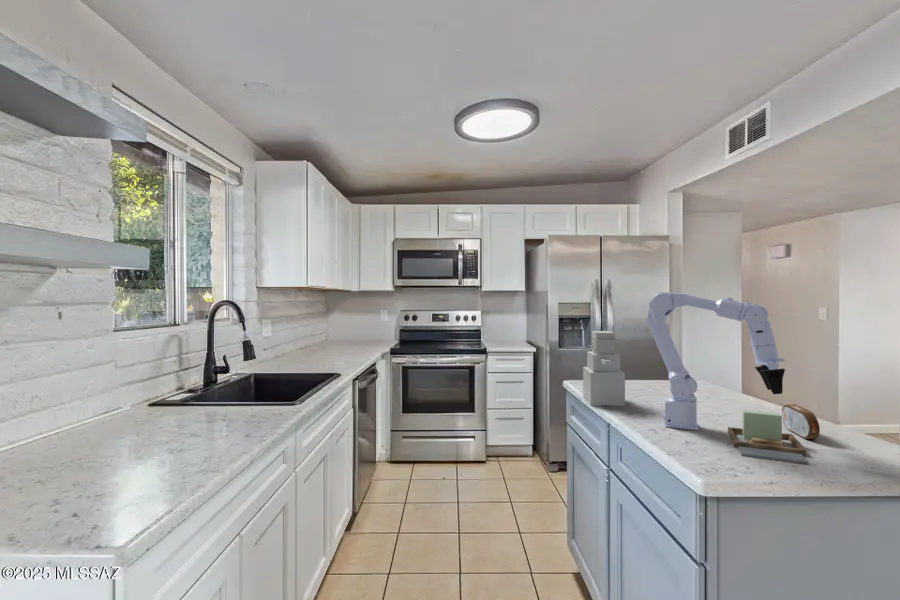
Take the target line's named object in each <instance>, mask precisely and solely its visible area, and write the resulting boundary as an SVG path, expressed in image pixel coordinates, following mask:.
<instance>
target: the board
mask: <svg viewBox="0 0 900 600" xmlns="http://www.w3.org/2000/svg"><path fill="white" fill-rule="evenodd" d="M782 423H783V415H782V414H780V413H778V412H767V411H756V410H745V409H743V410H742V429H743V434H742V439H744V440H751V437H754V438H762V439H771V440H780V441H782V440H783V439H782V433H783V426H782V425H783V424H782ZM782 442H783V441H782Z"/></svg>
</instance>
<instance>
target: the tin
mask: <svg viewBox="0 0 900 600" xmlns="http://www.w3.org/2000/svg"><path fill="white" fill-rule="evenodd" d="M781 411H782V412H781V413H782V414H781V416H782V423H783V424H784V426H785V428H786V429H787V430H788V431H789V430H790V431H789V432H791V433H793V434H795V435H796V434H797V435H796V436H798V437H800V438H801V439H804V440H817V439H818V438H819V436H820V432H821V429H820V423H819V420H818V418H817V417H816V414H815V413H813V411H811V410H810V409H808V408H805V407H802V406H801V405H798V404H796V403H793V404H785V405H784V406H783V407H782V408H781Z"/></svg>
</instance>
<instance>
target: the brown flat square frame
mask: <svg viewBox="0 0 900 600" xmlns="http://www.w3.org/2000/svg"><path fill="white" fill-rule="evenodd" d="M727 434H728V437H729V438H730V441H731V444H732V446H733V448H737V449H739V448H738V446H741V447H749V448H757V449H765V450H773V451H781V452H789V453H797V454H802V455H803V456H804V457H807V456H806V455H807V451H806V449H805V448H804V447H803V445H802V444H801V443H800V442H799V441H798V439H797V438H796V437H795V436H794V434H792V433H787V432H782V440H787V439H789V440H788V441H789V442H790V444H791V445H792V446H793V447H790V446H789V447H787V446H783V447H781V446H773V445H764V444H756V443H748V442H747V441H739V440H738V439H737V436H736V435H743V427H742V428H741V427H731V426H728V427H727Z"/></svg>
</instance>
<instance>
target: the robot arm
mask: <svg viewBox="0 0 900 600" xmlns="http://www.w3.org/2000/svg"><path fill="white" fill-rule="evenodd" d="M751 303H752V302H750V301H747V302H745V301H744V302H742V301H740V300H733V297H729V296H728V297H727V298H725V297H724V298H723V297H722V298H721V299H718V300H712V299H708V298H705V297H700V296H697V295H692V294H688V293H683V292H682V293H680V292H670V291H667V292H666V291H665V292H664V291H663V292H662V291H661V292H657V293H655V294H654V295H653V296H652V298H651V299H650V301H649V302H648V313H647V318H646V323H647V325H648V329H649V330H650V333H651V336H652V337H653V339H654V342H655V344H656V346H657V350H658V351H659V354H660V356H661V358H662V360H663V362H664V363H663V364H664V365H665V368H666V370H667V372H668V373H667V374H668V381H669V383H670V388H669V389H670V390H669V391H670V393H671V397H664V413H663V420H664V427H666V428H674V429H681V430H682V429H684V430H691V431H693V430H694V431H699V429H700V428H699V423H698V421H697V415H698V414H697V412H698V411H697V409H698V407H697V405H698V403H697V402H698V401H697V397H696V395H695V393H696V392H697V390H698V384H697V381H696V380H695V379H694V377H692V375H690V372H689V371H688V369H686V367H685V366H684V364H683V361H682V359H681V356H680V355H679V352H678V350H677V348H676V347H677V346H676V345H675V343H674V341H673V339H672V337H671V334H670V332H669V330H668V327H667V325H666V323H665V322H666V320H667V319H668V317H669V315H670V313H672V312H673V311H674V310H675V309H676V308H679V307H680V308H681V307H685V306H688V307H689V306H690V307H694V308H699V309H704V310H709V311H714V313H715V314H716V315H717V316H718V317H720V318H725V319H729V320H733V321H734V320H735V321H739V322H742V321H744V322H746V323H747V328H748V334H749V335H748V336H749V339H750V345H751V348H752V352H753V356H754V364H755V365H759V366H754V368H755V370H756V371H757V373H758V374H759V375H760V377H761V379H762V381H763V383H764V386H765V387H766V389H767V390H768V391H771V393H772V395H782V394H783V380H784V374H785V371H786V369H785V368H779V364H780V363H781V362H784V361H785V358H784V357H779V353H778V350H777V345H776V341H775V336H774V334H773V329H772V328H771V323H770V321H769V320H768V319H769V311H768V309H767V308H765V306H763V305H760V304H758V303H757V304H752V305H751Z"/></svg>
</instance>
